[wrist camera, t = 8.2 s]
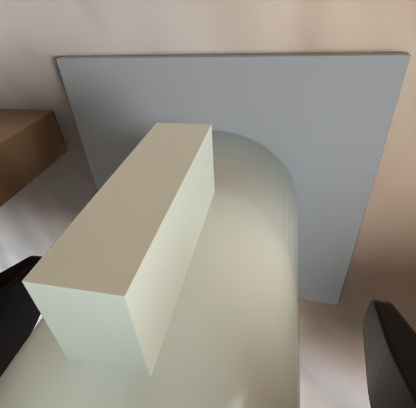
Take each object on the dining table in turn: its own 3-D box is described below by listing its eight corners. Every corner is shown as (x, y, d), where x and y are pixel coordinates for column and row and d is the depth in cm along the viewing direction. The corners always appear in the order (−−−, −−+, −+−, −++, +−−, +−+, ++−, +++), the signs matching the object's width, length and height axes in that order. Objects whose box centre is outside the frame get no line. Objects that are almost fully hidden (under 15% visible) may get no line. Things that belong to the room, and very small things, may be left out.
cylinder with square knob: (289, 263, 13) (283, 613, 6) (158, 248, 14) (25, 529, 7) (314, 79, 9) (392, 540, 2) (124, 78, 10) (-284, 361, 3)
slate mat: (336, 299, 14) (337, 304, 14) (125, 271, 16) (123, 275, 16) (407, 52, 8) (410, 55, 8) (61, 56, 10) (55, 58, 10)
